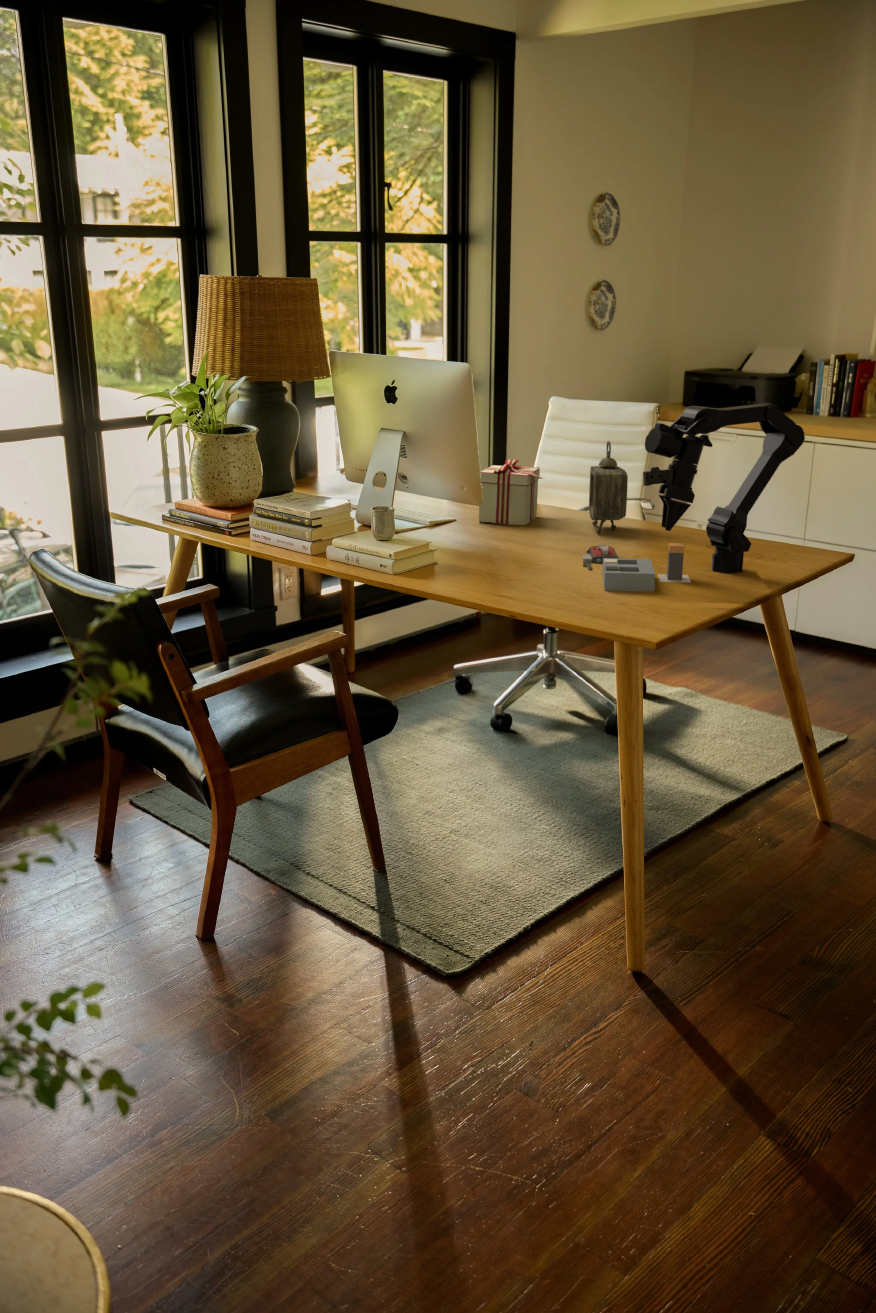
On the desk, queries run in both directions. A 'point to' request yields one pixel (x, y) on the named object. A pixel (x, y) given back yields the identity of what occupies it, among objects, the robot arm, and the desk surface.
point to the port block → (628, 574)
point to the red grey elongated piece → (598, 555)
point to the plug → (675, 561)
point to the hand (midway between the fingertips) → (665, 529)
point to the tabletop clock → (607, 491)
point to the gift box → (509, 494)
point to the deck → (664, 579)
